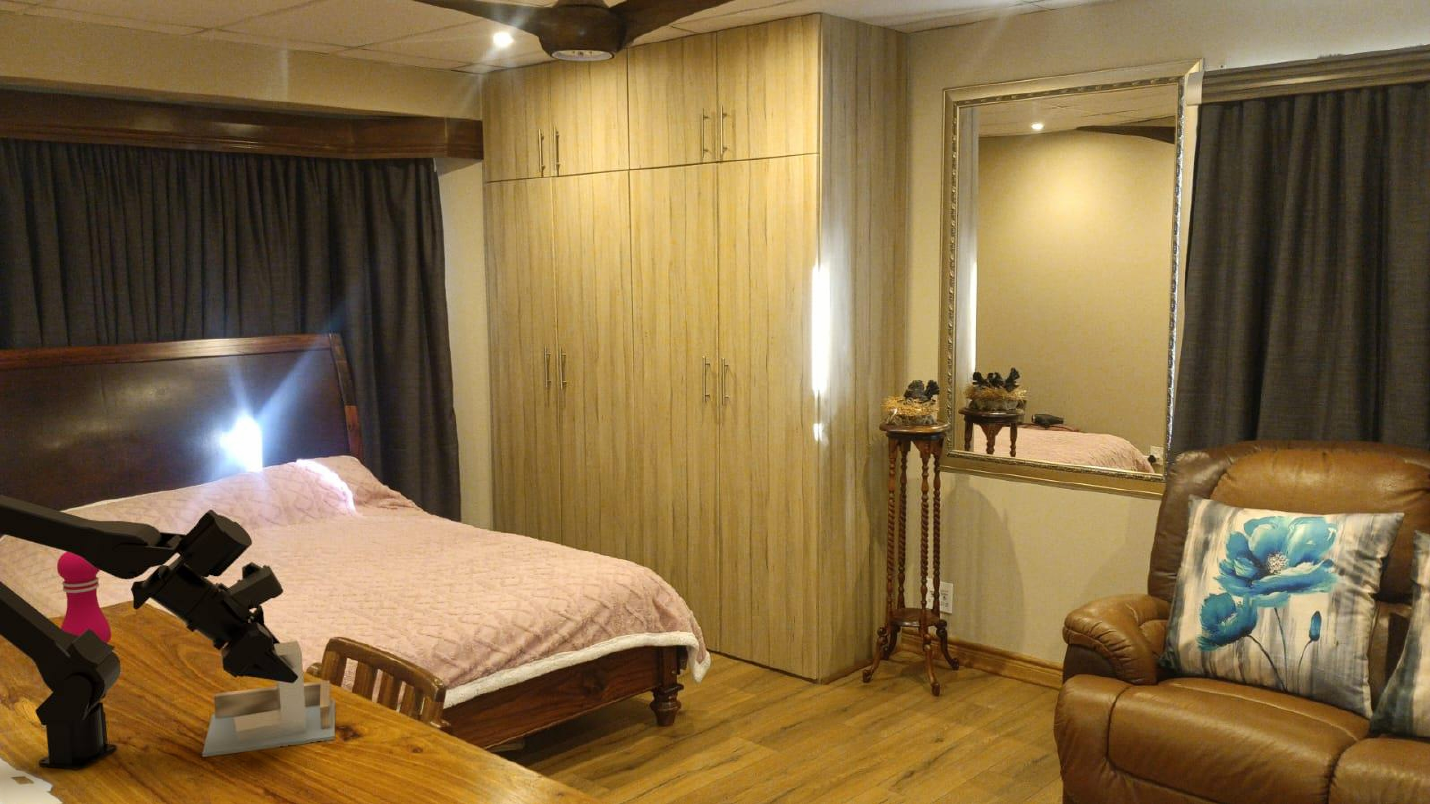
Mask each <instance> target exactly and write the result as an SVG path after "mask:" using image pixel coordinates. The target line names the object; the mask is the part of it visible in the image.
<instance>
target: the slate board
mask: <svg viewBox="0 0 1430 804" xmlns="http://www.w3.org/2000/svg"><path fill="white" fill-rule="evenodd" d="M335 707H336V701H335V700H334V699H331V728H325V729H321V717H320V705H315V706H307V707H305V715H306V732H304V733H298V734H293V735H287V736H282V737H276V738H271V739H265V740H259V741H254V742H248V743H243V744H237V740H236V734H235V726H234V717H239V716H245V715H251V714H257V713H250V714H242V715H234V716H226V717H218V718H215V714H212V715H211V718H210V723H209V726H208V730H207V734H206V738H205V741H204V746H203V750H202V753H201V755H202V758H205V757H206V758H207V757H213V756H222V755H228V754H236V753H244V752H245V753H246V752H251V751H253V752H254V751H259V750H265V749H274V748H281V747H280V746H283V747H288V745H291V746H297V745H305V744H312V743H311V742H313V743H318V742H317V741H321V742H327V741H334V740H335V739H336V737H335V736H336V735H335V734H336V731H335V730H336V729H335V728H336V724H335V722H336V721H335V720H336V715H335V714H336V708H335ZM267 712H269V711H267ZM258 713H263V712H258ZM325 740H326V741H325Z"/></svg>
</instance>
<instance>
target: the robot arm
mask: <svg viewBox="0 0 1430 804" xmlns="http://www.w3.org/2000/svg"><path fill="white" fill-rule="evenodd" d="M0 534H2V535H6V536H9V537H12V538H16V539H19V540H23V541H28V542H31V543H34V544H39V545H41V546H45V547H48V548H53V549H55V550H56V549H57V550H60V551H64V552H70V553H73V554H75V555H77V556H80V557H81V558H83V559H84V560H85V561H87V562H88V563H89V564H91V565H92V566H93V567H95V568H97V569H99V570H100V571H102V572H104V573H106V574H109V575H111V576H112V577H115V578H118V579H122V580H132V579H136V578H138V577H140V576H142V575H143V574H145V573H146V572H147V571H148V570H149V569H151V568H156V569H155V570H154V571H153V572H152V573H151V574H150V575H149V576H148V577H147V578H145V579H143V580H139V581H137V580H136V581H133V583H132V585H131V587H130V591H131V593H132V599H133V605H132V607H133V609H134V610H139V609H140V608H141V607H142V606H143V605H144V604H145V603H146V602H147V601H148V600H149V599H151V600H153V601H154V602H156V603H157V604H159V606H160V607H163V608H164V609H165V610H167V611H168V612H170V613H171V614H173V615H174V616H175V617H177V618H178V619H180V620H181V621H182V622H184V623H185V627H186V629H188V630H189V631H191V632H193V633H194V631H197V632H199V633H200V634H201V635H202V636H204V637H205V638H207V639H208V640H210V641H211V642H212V643H211V644H212V647H213V648H215V649H216V650H218V651H220V655H221V656H220V657H221V659H220V660H221V664H222V665H221V666H222V670H223V671H225V672H226V673H228V674H229V675H231V676H232V677H233V678H237V677H239V678H243V677H248V678H256V679H263V680H270V681H275V682H276V681H281V682H287V683H294V682H295V681H296V680H297V679H298V675H297V674H296V673H295V672H294V671H293V670H292V669H291V668H290V667H289V666H288V665H287V664H286V662H285V661H284V660H283V659H282V658H281V657H280V656H279V655H278V654H277V653H276V652H275V651H274V644H279V643H281V642H280V640H279V639H278V638H277V637H276V636H275V635H274V633H273V632H272V631H271V630H270V629H269V628H268V626H267V625H266V624H265V613H264V609H263V606H262V604H265V603H266V602H268V601H270V600H271V599H276V598H278V597H279V596H281V595H282V594H283V593H284V589H283V587H282V584H281V582H280V581H279V579H278V577H277V576H276V575H275V573H274V571H273V570H272V568H271V566H270V565H266V564H264V565H263V566H262V567H261V566H260V565H258V564H257V563H254V562H252V561H251V562H249V563H247V564H245V565H243V566H242V567H241V579H237V580H236V581H237V582H236V583H234V584H232V585H231V586H229V587H228V586H227V585H225V584H224V583H222V582H219V583H218V582H216V583H214V582H212V581H210V580H209V579H208V577H210V576H212V577H217V578H219V577H220V576H222V575H223V574H224V573H225V572H226V571H227V569H229V568H230V566H232V564H234V562H236V561H237V559H238V558H240V557H241V556H242V555H243V554H244V553H245V552H246V551H247V550H248V549H249V548H250V547H251V546H252V544H253V540H252V537H251V536H250V535H249V533H248V532H247V530H245V528H244V527H243V526H241V525H240V523H238V521H233V520H232V519H230V518H228V517H226V516H224V515H221V514H218V513H216V512H215V511H214V510H213V509H209V510H207V511H206V512H205V513H204V514H203V515H202V516H201V517H200V519H198V521H197V523H196V525H195V526H193V527H192V528H191V529H190V530H189V531H188V532H187V534H186V533H184V534H183V533H175V532H167V531H166V532H163V531H160V530H159V529H158V528H156V527H155V526H152V524H151V525H150V524H147V523H142V522H133V521H125V520H124V521H123V520H96V519H95V520H93V519H88V518H86V517H81V516H77V515H75V514H74V515H73V514H71V513H68V512H64V511H61V510H57V509H53V508H50V507H46V506H43V505H39V504H35V503H31V502H27V501H24V500H20V499H17V498H14V497H9V496H7V495H3V494H0ZM176 554H178V555H179V556H178V557H177V558H175V560H174V561H172V562H171V563H170V564H169V565H166V563H167V562H168V561H170V560H171V559H172V558H173V557H174V556H176ZM253 609H255V610H254V611H251V610H253ZM60 628H61V627H59V626H58V625H57V624H55V623H54V622H53V621H51V619H49V618H48V617H47V616H45V615H44V614H42V613H41V612H40V611H39V610H38V609H36V608H35V607H34V606H33V605H32V604H30V603H29V602H28V601H26V600H25V599H24V598H22V597H21V596H20V595H19V594H18V593H17V592H15V591H14V590H12V589H11V588H9V586H7V585H6V584H5V583H3V582H2V581H1V580H0V636H1V637H2V638H3V639H4V640H6V641H7V642H9V643H10V644H11V645H12V646H14V647H15V648H17V649H18V650H19V651H20V652H21V653H22V654H24V655H25V656H27V658H29V659H31V661H32V662H33V663H34V664H35V666H36V668H37V671H38V673H39V674H40V678H41V679H42V681H43V683H44V685H45V686H46V687H47V688H48V689H49V691H51V692H52V693H51V694H50V695H49V696H48V697H47V698H46V699H45V700H44V701H42V703H41V704H40V705H39V706H38V707H37V708H36V709H35V712H34V713H35V715H36V716H37V718H38V721H39V722H40V724H41V725H42V726H45V728H46V729H45V730H46V741H47V752H48V755H47V756H45V757H44V758H42V759H39V761H38V766H41V767H50V768H60V769H61V768H62V769H71V770H72V769H73V770H83V769H85V768H87V767H89V766H91V765H92V764H94V763H96V762H97V761H99V760H100V759H102V758H104V757H105V756H107V755H109V754H111V753H113V752H115V750H117V749H118V745H117V744H116V743H115V744H114V743H108V731H107V729H108V728H107V720H106V719H107V718H106V713H105V710H104V702H102V700H104V699H105V698H106V696H107V693H108V691H109V690H110V689H111V688H112V687H113V686H114V685H115V684H116V682H117V681H118V679H119V678H120V674H121V672H122V671H121V668H122V667H121V660H120V658H119V656H118V655H117V654H116V653H115V652H114V649H116V646H115V645H112V644H108V643H105V642H104V641H102V640H101V639H100V638H99V637H98V635H97V634H96V633H95V632H94V631H92V630H91V629H87V630H86V631H85V632H84V633H83V634H81V635H80V636H78V635H75V634H71V633H68V632H65V631H63V630H62V629H60Z"/></svg>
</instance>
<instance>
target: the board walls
mask: <svg viewBox="0 0 1430 804" xmlns="http://www.w3.org/2000/svg"><path fill="white" fill-rule="evenodd" d="M304 698H305V707H307V706H315V705H320V717H321V729H325V728H331V700H332V697H331V681H330V680H319V681H313V682H312V681H311V682H304ZM213 700H214V701H213V702H214V704H213V705H214V715H215V718H218V717H226V716H234V715H242V714H250V713H258V712H267V711H274V710H278V705H277V688H276V686H269V687H260V688H259V687H258V688H252V689H251V688H250V689H242V690H235V691H225V692H218V693H217V692H216V693H214V696H213Z"/></svg>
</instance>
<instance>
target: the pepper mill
mask: <svg viewBox="0 0 1430 804" xmlns="http://www.w3.org/2000/svg"><path fill="white" fill-rule="evenodd" d="M56 568H57V569H56V570H57V574H58V575H59V577H61V578H62V579H63V581H62V582H61V584H62V591H63V592H64V593H65V594H66V611H65V614H64V618H63V621H62V623H61V626H60V627H59V628H60V629H62V630H63V631H65V632H68V633H71V634H75V635H78V636H80V635H81V634H83V633H84V632H85V631H86V630H87V629H91V630H92V631H94V632H95V633H96V634H97V635H98V637H99V638H100V639H101V640H102V641H104V642H105V643H107V644H108V643H109V642H110V641H111V638H112V629H111V625H110V624H109V622H108V619H107V618H106V616H105V614H104V613H103V611H102V609H101V607H100V605H99V604H100V603H99V599H98V595H97V591H98V590H97V589H98V588H99V587H100V583H99V580H100V579H99V577H97V575H98V574H99V572H100V571H101V570H99V569H97V568H95V567H93V566H92V565H91V564H89V563H88V562H87V561H85V560H84V559H83V558H81V557H80V556H77V555H75V554H73V553H70V552H67V551H64V553H62V554H61V555H60V557H59V558H58V561H57V565H56Z"/></svg>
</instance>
